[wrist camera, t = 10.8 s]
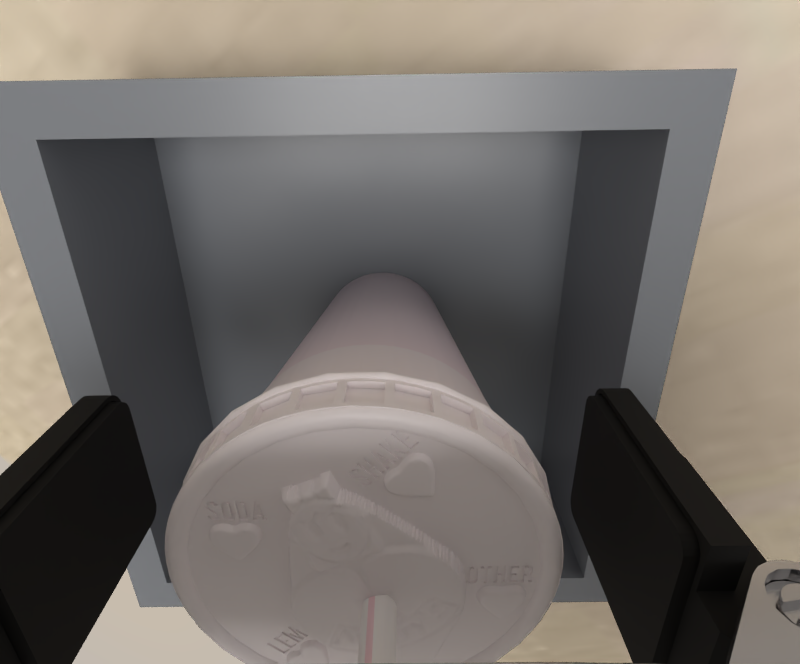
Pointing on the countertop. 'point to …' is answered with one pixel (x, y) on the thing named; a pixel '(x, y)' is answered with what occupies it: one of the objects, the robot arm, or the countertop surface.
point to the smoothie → (367, 503)
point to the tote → (360, 240)
